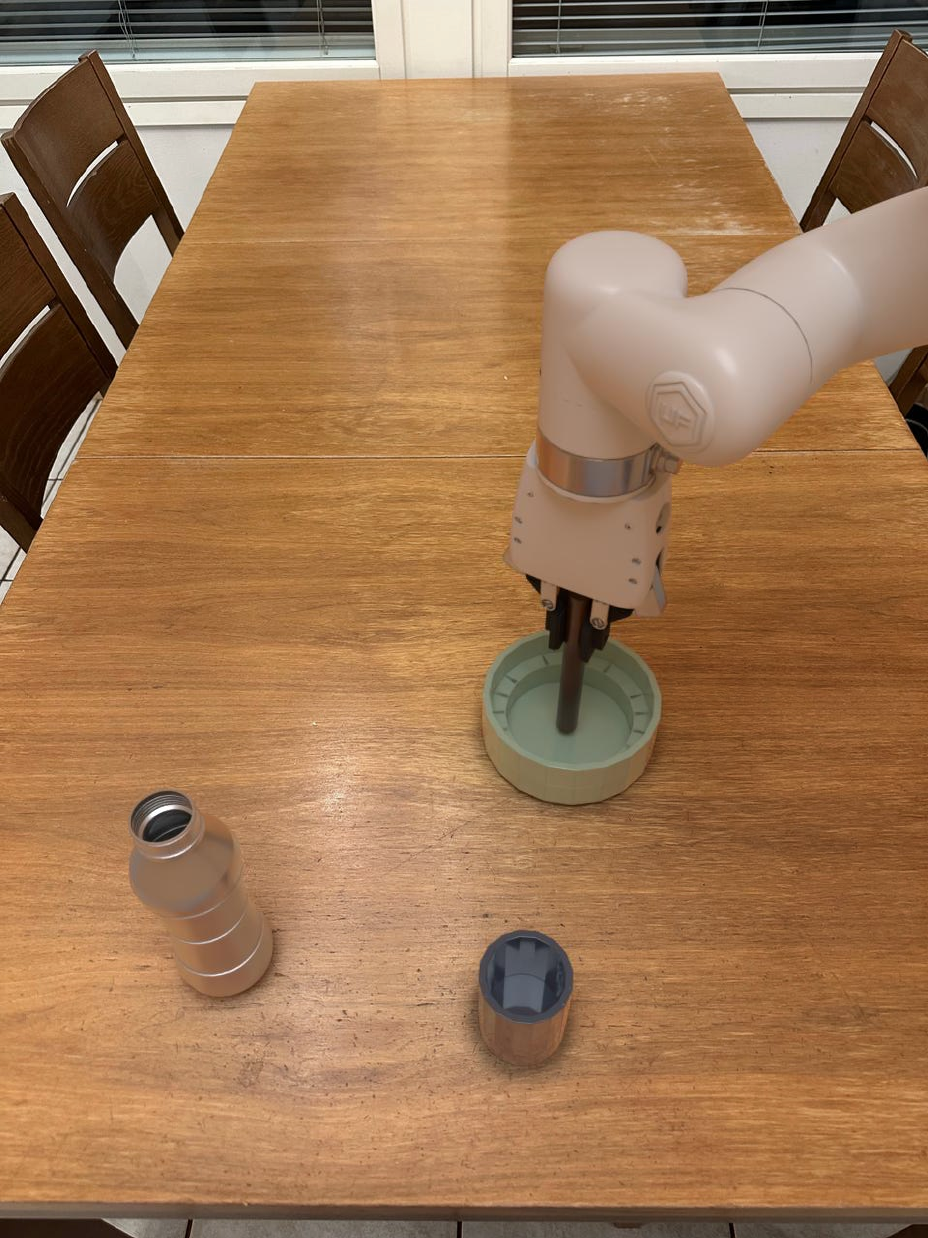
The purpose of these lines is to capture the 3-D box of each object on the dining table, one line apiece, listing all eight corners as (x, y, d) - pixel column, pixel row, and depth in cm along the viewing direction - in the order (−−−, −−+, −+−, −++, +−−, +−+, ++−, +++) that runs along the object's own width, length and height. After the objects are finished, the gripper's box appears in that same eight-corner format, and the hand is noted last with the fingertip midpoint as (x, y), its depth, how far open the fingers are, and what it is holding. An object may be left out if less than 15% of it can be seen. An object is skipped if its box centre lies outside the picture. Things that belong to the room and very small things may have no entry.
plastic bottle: (189, 921, 69) (109, 770, 54) (282, 914, 69) (228, 763, 55) (177, 1010, 65) (87, 873, 50) (276, 1003, 65) (216, 865, 50)
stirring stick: (580, 720, 79) (598, 587, 67) (572, 736, 78) (588, 604, 66) (561, 712, 80) (574, 579, 68) (552, 728, 79) (564, 595, 67)
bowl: (676, 705, 82) (686, 665, 78) (613, 836, 73) (620, 798, 69) (528, 647, 86) (530, 606, 82) (453, 763, 78) (451, 724, 74)
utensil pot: (578, 1003, 65) (588, 956, 59) (542, 1083, 61) (548, 1041, 56) (503, 963, 67) (505, 914, 61) (464, 1039, 63) (462, 994, 57)
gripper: (743, 448, 57) (692, 646, 71) (508, 380, 62) (504, 577, 76) (702, 523, 53) (657, 718, 66) (454, 443, 58) (459, 639, 72)
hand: (575, 641), depth 71 cm, fingers closed on stirring stick, 1 cm apart
